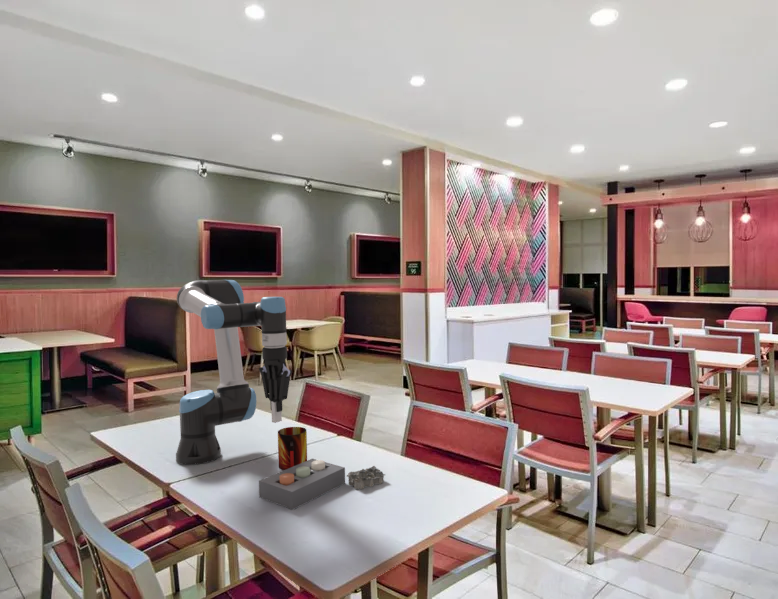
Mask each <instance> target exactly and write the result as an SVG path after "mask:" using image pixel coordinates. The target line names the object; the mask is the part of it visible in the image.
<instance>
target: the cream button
mask: <svg viewBox="0 0 778 599" xmlns="http://www.w3.org/2000/svg"><path fill="white" fill-rule="evenodd" d="M325 462H326V460H322V459H316V461H313V462H312V463H311V468H312V470H315V471H321V470H323V469H325Z"/></svg>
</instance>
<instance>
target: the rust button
mask: <svg viewBox="0 0 778 599" xmlns="http://www.w3.org/2000/svg"><path fill="white" fill-rule="evenodd" d="M279 477H280V484H282V485H286V486H287V485H289V484H292V483H294V474H292V473H285V474H282V475H280V476H279Z"/></svg>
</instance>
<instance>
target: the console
mask: <svg viewBox="0 0 778 599" xmlns="http://www.w3.org/2000/svg"><path fill="white" fill-rule="evenodd" d="M316 460H317V459H315V458H311V459H307V461H305V462H303V463H301V464H298V465H296V466H293V467H291V468H288V469H286V470H281V471H279V472H276V473H274V474H272V475H269V476H267V477H264V478H261V479H260V480H258V493H259V494H258V495H259V498H260V499H262V500H265V501H267V502H270V503H273V504H277V505H279V506H282V507H284V508H287V509H290V510H291V511H292V510H293V511H294V510H296V509H297V508H299V507H301V506H303V505H305V504H307V503H309V502H310V501H313V500H316V499H317V498H319V497H321V496H323V495H324V494H327V493H328V492H332V491H333V490H335V489H338V487H340V486H343V485H344V484H346V468H345V466H340V465H337V464H333V463H330V462H327V461H325V469H323V470H321V471H315V470H312V468H311V463H312V462H313V461H316ZM303 466H306V467H309V468H310V476H307V477H305V478H300V477H297V476H296V469H297V468H298V467H303ZM285 473H292V474H294V483H292V484H289V485H287V486H286V485H282V484H280V477H279V476H280V475H282V474H285Z"/></svg>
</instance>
